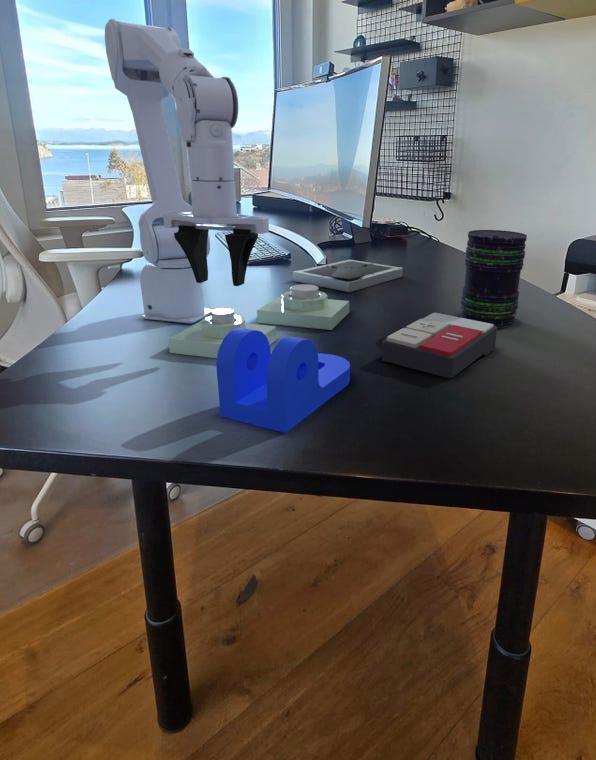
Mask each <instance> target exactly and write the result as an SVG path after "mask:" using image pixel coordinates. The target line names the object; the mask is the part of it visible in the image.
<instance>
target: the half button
mask: <svg viewBox="0 0 596 760" xmlns="http://www.w3.org/2000/svg"><path fill="white" fill-rule="evenodd" d="M234 315H235V310H234V309H231V308H226V307H225V308H224V307H222V308H215V309H214V310H212V311H211V314H210V316H211V317H212V323H214V324H229V323H234V322H235V318H234Z"/></svg>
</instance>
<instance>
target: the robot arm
mask: <svg viewBox="0 0 596 760" xmlns="http://www.w3.org/2000/svg"><path fill="white" fill-rule="evenodd" d="M104 44H105V54H106V58H107V64H108V68H109V73H110V76H111V80H112V81H113V84H114V88H115V89H116V90H117V91H119V92H120V93H121V94H123V95H124V96H126V98H127V101H128V105H129V107H130V110H131V114H132V117H133V122H134V127H135V132H136V136H137V140H138V145H139V149H140V153H141V158H142V162H143V163H142V164H143V167H144V171H145V176H146V181H147V185H148V190H149V196H150V199H151V203H152V204H151V205H150V206H149V207H147V208H146V209H145V210H144V211H143V212H142V213H141V214H140V217H139V220H138V227H139V228H138V230H139V242H140V247H141V252H142V255H143V257H144V259H145V261H147V262H148V263H146V264H145V265H144V266H143V268H141V272H140V276H139V284H140V291H141V298H142V305H143V312H144V314H143V315H141V318H142V320H153V321H161V322H162V321H163V322H170V323H171V322H172V323H182V324H194V323H197V322H198V321H201V320H202V319H204V318H206V317H208V316H210V315H211V311H212V310H215V309H214V308H208V307H205V299H204V289H203V283H205V282H207V281H208V280H209V268H208V257H209V254H210V252H211V240H210V234H209V233H210V232H209V231H226V232H230V233H227V234H224V239H225V242H226V246H227V250H228V253H229V259H230V267H231V281H232V285H233V287H240V286H242V285H244V284H245V282H246V281H245V279H246V273H247V268H248V265H249V264H248V263H249V260H250V258H251V254H252V251H253V249H254V247H255V244H256V242H257V240H258V238H259V235H260V234H261V235H264V234H267V233H270V225H269V224H270V223H269V217H268V216H265V217H264V216H258V215H257V216H255V215H248V214H240V213H239V214H238V210H237V193H236V177H235V164H234V163H235V162H234V161H235V159H234V147H233V133H232V132H233V131H232V130H233V128H234V127H235V126H236V124H237V121H238V118H239V96H238V92H237V89H236V86H235V84H234V83H233V81H232V79H231V77H229V76H221V77H215V76H214V75H213V74H212V73H211V72H210V71H209V70H208V69H207V67H205V66H204V65H203V64H202V63H201V61H199V60H198V59H197V57H196V56H195V53H194V51H193V50H191V49H190V48H182V44H181V39H180V37H179V34H178V32H177V31H176V30H175V29H174V28H173V27H160V26H154V25H145V24H141V23H134V22H126V21H120V20H116V19H114V18H109V19H108V21H107V22H106V24H105V27H104ZM170 96H171V97H172V99H173V100H174V106H175V111H176V116H177V118H178V121H179V125H180V134H181V137H182V141H183V142H185V145H186V146H185V147H186V155H187V165H188V177H189V189H190V198H191V205H190V204H189V203H187V201H185V200H184V198H183V193H182V188H181V184H180V180H179V174H178V171H177V170H178V169H177V166H176V162H175V156H174V152H173V148H172V147H173V146H172V142H171V139H170V134H169V129H168V124H167V119H166V116H165V111H164V107H163V106H164V105H163V103H164V100H165V99H166V98H168V97H170Z"/></svg>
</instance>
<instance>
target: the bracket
mask: <svg viewBox="0 0 596 760" xmlns="http://www.w3.org/2000/svg"><path fill="white" fill-rule="evenodd" d="M215 365H216V366H215V367H216V379H217V380H216V381H217V389H218V403H219V413H220V417H221V418H225V419H229V420H233V421H236V422H240V423H241V422H242V423H245V424H248V425H253V426H256V427H260V428H264V429H268V430H272V431H276V432H279V433H284V434H287V433H288V432H289V431H290V430H292V429H293V428H294V427H296V426H298V424H300V423H301V422H302V421H304V420H305V419H307V417H309V416H310V415H311V414H313V413H314V412H315V411H316V410H318V409H319V408H320V407H321V406H323V405H324V404H325V403H327V402H328V401H329V400H330V399H331V398H333V397H334V396H335V395H337V394H338V393H340V392H342V390H343V389H344V388H346V387H347V386H348V385H349V384H350V380H351V363H350V362H349V360H347V359H346V358H344V357H343V356H339V355H335V354H330V353H321V352H320V353H318V349H317V347H316V345H315V344H314V342H313V341H312V340H310V339H308V338H307V339H306V338H301V337H296V336H295V337H294V336H284V337H282V338H281V339H280V340H279V341H278V342H277V343H276V344H275V346H274V347H273V349H272V351H271V345H269V341H268V339H267V337H266V336H265V335H264V334H263V333H262V332H260V331H257V330H252V329H246V328H236V329H233V330H232V331H230V332H229V333H228V334H227V335H226V337H225V338H224V339H223V341H222V343H221V345H220V348H219V351H218V355H217V358H216V362H215Z"/></svg>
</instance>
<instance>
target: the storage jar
mask: <svg viewBox="0 0 596 760" xmlns="http://www.w3.org/2000/svg"><path fill="white" fill-rule="evenodd" d="M467 238H468V240H467V242H466V248H465V260H464V262H465V263H464V265H465V277H464V286H463V287H462V293H461V299H460V311H461V313H460V316H459V317H460V318H465V319H470V320H475V321H480V322H485V323H490V324H493V325H494V326H497V329H502V328H503V329H505V328H509V327H512V326H514V325H515V324H516V315H517V310H518V308H519V297H520V291H519V288H520V287H519V286H520V280H521V272H522V270H523V267H524V259H525V257H526V251H525V250H526V242H527V238H528V235H527V234H526V233H522V232H517V231H509V230H500V229H499V230H498V229H475V230H474V229H473V230H470V231H469V230H468V232H467Z"/></svg>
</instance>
